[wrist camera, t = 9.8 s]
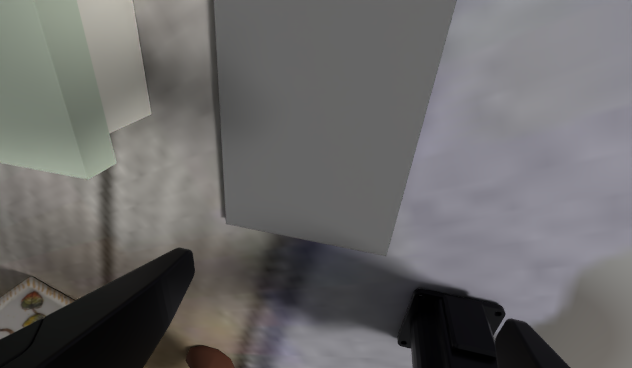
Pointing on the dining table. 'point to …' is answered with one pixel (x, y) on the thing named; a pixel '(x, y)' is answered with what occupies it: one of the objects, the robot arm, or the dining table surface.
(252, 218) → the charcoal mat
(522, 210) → the dining table surface
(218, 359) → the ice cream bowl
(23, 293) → the decorative jar
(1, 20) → the sage lid
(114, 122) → the white rectangular box
